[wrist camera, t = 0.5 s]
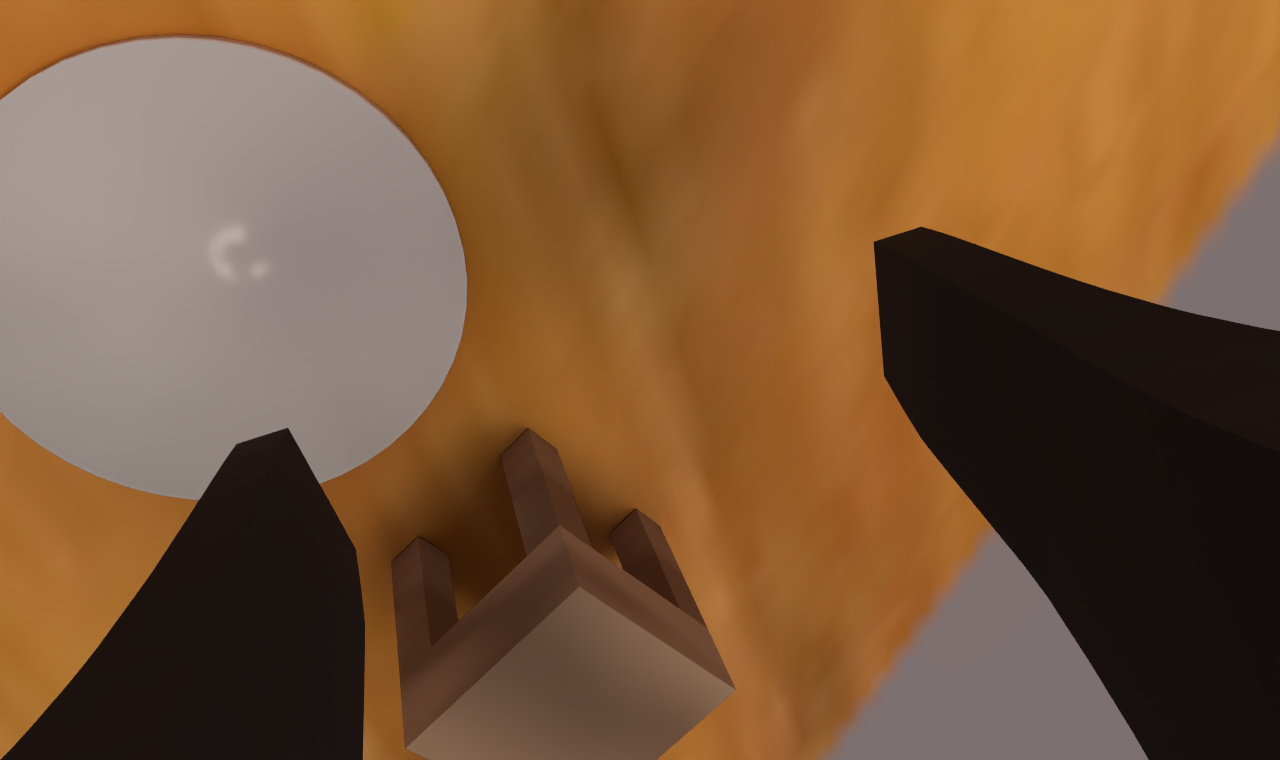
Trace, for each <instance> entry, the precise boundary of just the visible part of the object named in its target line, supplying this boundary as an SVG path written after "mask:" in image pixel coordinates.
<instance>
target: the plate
mask: <svg viewBox="0 0 1280 760" xmlns="http://www.w3.org/2000/svg"><path fill="white" fill-rule="evenodd" d="M466 309H467V274H466V266H465V258H464V251H463V247H462V243H461V239H460V236H459V232H458V228H457V224H456V221H455V218H454V214H453V212H452V210H451V207H450V205H449V202H448V200H447V198H446V195H445V193H444V190H443V188H442V186H441V184H440V182H439V181H438V179H437V177H436V176H435V174H434V172H433V170H432V169H431V167H430V165H429V164H428V162H427V160H426V159H425V157H424V156H423V155H422V154H421V152H420V151H419V150H418V148H417V147H416V146H415V145H414V143H413V142H412V141H411V139H410V138H409V137H408V135H407V134H406V133H405V132H404V131H403V130H402V129H401V128H400V127H399V126H398V125H397V124H396V123H395V122H394V121H393V120H392V119H391V118H390V117H389V116H388V115H387V114H386V113H385V112H384V111H383V110H382V109H381V108H379V107H378V106H377V105H375V104H374V103H373V102H372V101H370V100H369V99H368V98H367V97H365V96H364V95H363V94H361V93H360V92H359V91H358V90H356V89H355V88H353V87H352V86H350V85H348V84H347V83H345V82H343V81H342V80H340V79H338V78H337V77H335V76H333V75H332V74H330V73H328V72H327V71H325V70H323V69H321V68H319V67H317V66H315V65H312V64H310V63H308V62H306V61H303V60H301V59H299V58H297V57H294V56H292V55H290V54H287V53H284V52H280V51H277V50H274V49H271V48H268V47H264V46H261V45H258V44H255V43H250V42H244V41H239V40H234V39H228V38H223V37H217V36H202V35H185V34H172V35H157V36H143V37H136V38H131V39H126V40H121V41H116V42H111V43H106V44H102V45H99V46H96V47H93V48H91V49H88V50H85V51H82V52H79V53H76V54H74V55H71V56H68V57H66V58H64V59H62V60H60V61H58V62H56V63H55V64H53V65H51V66H49V67H47V68H45V69H43V70H41V71H39V72H37V73H36V74H34V75H33V76H31V77H30V78H29V79H27V80H26V81H25V82H23V83H22V84H21V85H19V86H18V87H17V88H15V89H14V90H13V91H11V92H10V93H8V94H7V95H6V96H5V97H3V98H2V99H1V100H0V412H1V413H2V414H3V415H4V416H5V417H6V418H7V419H8V420H9V421H10V422H11V423H12V424H13V425H14V426H16V427H17V428H18V429H19V430H21V431H22V432H23V433H24V434H26V435H27V436H28V437H30V438H31V439H32V440H33V441H35V442H36V443H37V444H39V445H40V446H42V447H43V448H45V449H47V450H48V451H50V452H52V453H53V454H55V455H56V456H58V457H60V458H61V459H63V460H64V461H66V462H68V463H70V464H72V465H74V466H76V467H78V468H81V469H83V470H85V471H87V472H89V473H91V474H93V475H95V476H97V477H100V478H103V479H106V480H109V481H111V482H114V483H117V484H120V485H123V486H125V487H128V488H132V489H136V490H141V491H145V492H149V493H153V494H157V495H162V496H169V497H176V498H183V499H190V500H200V498H201V497H202V495H203V493H204V492H205V490H206V489H207V487H208V486H209V484H210V482H211V481H212V479H213V478H214V476H215V475H216V473H217V472H218V470H219V468H220V467H221V465H222V464H223V462H224V461H225V459H226V458H227V456H228V455H229V454H230V452H231V451H232V450H233V448H234V447H235V445H236V444H238V443H241V442H244V441H247V440H250V439H254V438H257V437H260V436H263V435H266V434H269V433H273V432H276V431H279V430H282V429H285V428H289V430H290V432H291V434H292V435H293V437H294V439H295V441H296V443H297V444H298V446H299V448H300V450H301V452H302V453H303V455H304V457H305V459H306V461H307V462H308V464H309V466H310V468H311V470H312V471H313V473H314V475H315V477H316V479H317V480H318V482H319V484H320V483H323V482H326V481H328V480H331V479H333V478H336V477H338V476H341V475H343V474H344V473H346V472H348V471H350V470H352V469H354V468H356V467H358V466H360V465H361V464H363V463H365V462H367V461H368V460H370V459H371V458H373V457H374V456H375V455H377V454H378V453H380V452H381V451H383V450H384V449H386V448H387V447H388V446H390V445H391V444H392V443H393V442H394V441H395V440H396V439H398V438H399V437H400V436H401V435H402V434H403V433H404V432H405V431H407V430H408V429H409V428H410V427H411V426H412V424H413V423H414V422H415V421H416V420H417V419H418V418H419V416H420V415H421V414H422V413H423V412H424V411H425V410H426V408H427V407H428V406H429V404H430V403H431V401H432V400H433V398H434V397H435V395H436V394H437V392H438V391H439V389H440V388H441V386H442V384H443V382H444V380H445V378H446V376H447V374H448V372H449V370H450V368H451V366H452V364H453V362H454V359H455V356H456V352H457V349H458V346H459V343H460V340H461V337H462V332H463V326H464V320H465V315H466Z"/></svg>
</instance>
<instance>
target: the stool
mask: <svg viewBox="0 0 1280 760" xmlns="http://www.w3.org/2000/svg"><path fill="white" fill-rule="evenodd" d="M500 457H501V461H502V465H503V468H504V472H505V476H506V480H507V484H508V488H509V491H510V495H511V499H512V503H513V507H514V510H515V514H516V518H517V522H518V526H519V530H520V533H521V537H522V541H523V545H524V549H525V552H526V556H527V557H526V558H525V559H524V560H523V561H522V562H520V563H519V564H518V565H517V566H516V567H515V568H514V569H513V570H512V571H511V572H510V573H509V574H508V575H507V576H506V577H505V578H504V579H503V580H501V581H500V582H499V583H498V584H497V585H496V586H495V587H494V588H493V589H492V590H491V591H490V592H489V593H488V594H487V595H486V596H485V597H484V598H483V599H481V600H480V601H479V602H478V603H477V604H476V605H475V606H474V607H473V608H472V609H471V610H470V611H469V612H468V613H467V614H466V615H465V616H464V617H462V618H461V619H460V620H459V621H458V617H457V610H456V604H455V597H454V591H453V584H452V578H451V571H450V565H449V558H448V555H447V554H445V553H444V552H442V551H440V550H439V549H437V548H436V547H434V546H432V545H431V544H429V543H428V542H426V541H424V540H423V539H421V538H420V537H417V538H416V539H415V540H414V541H413V542H412V543H411V544H410V545H409V546H408V547H407V548H406V549H405V550H404V551H403V552H402V553H401V554H400V555H399V556H398V557H397V558H395V559H394V560H393V561H392V562H391V566H392V579H393V593H394V606H395V619H396V633H397V646H398V659H399V672H400V686H401V699H402V712H403V726H404V739H405V749H407V750H409V751H411V752H413V753H416V754H418V755H420V756H422V757H424V758H426V759H428V760H657V759H658V758H659V757H660V756H661V755H662V754H664V753H665V752H666V751H667V750H668V749H669V748H670V747H672V746H673V745H674V744H675V743H676V742H677V741H678V740H680V739H681V738H682V737H683V736H684V735H685V734H686V733H688V732H689V731H690V730H691V729H692V728H693V727H694V726H696V725H697V724H698V723H699V722H700V721H701V720H702V719H704V718H705V717H706V716H707V715H708V714H709V713H710V712H712V711H713V710H714V709H715V708H716V707H717V706H718V705H720V704H721V703H722V702H723V701H724V700H725V699H726V698H728V697H729V696H730V695H731V694H732V693H733V692H734V691H736V689H735V687H734V685H733V682H732V680H731V678H730V676H729V674H728V672H727V669H726V667H725V665H724V663H723V661H722V659H721V657H720V654H719V652H718V650H717V648H716V646H715V644H714V642H713V639H712V637H711V635H710V633H709V631H708V629H707V626H706V624H705V622H704V620H703V618H702V616H701V614H700V611H699V609H698V607H697V605H696V603H695V601H694V598H693V596H692V594H691V592H690V590H689V588H688V586H687V583H686V581H685V579H684V577H683V575H682V573H681V570H680V568H679V566H678V564H677V562H676V560H675V558H674V555H673V553H672V551H671V549H670V547H669V545H668V543H667V540H666V538H665V536H664V534H663V532H662V530H661V527H659V526H658V525H657V524H655V523H654V522H653V521H651V520H650V519H649V518H647V517H646V516H645V515H643V514H642V513H641V512H639V511H638V510H637V509H636V510H634V511H633V512H632V513H631V514H630V515H629V516H628V517H627V518H626V519H625V520H624V521H623V522H622V523H621V524H620V525H618V526H617V527H616V528H615V529H614V530H613V531H612V532H611V533H610V537H611V539H612V542H613V545H614V547H615V550H616V552H617V555H618V557H619V560H620V563H621V565H622V568H623V569H622V568H620V567H619V566H617V565H616V564H614V563H613V562H611V561H610V560H609V559H607V558H606V557H604V556H603V555H601V554H600V553H598V552H597V551H596V550H594V549H593V548H592V547H591V544H590V541H589V538H588V536H587V533H586V530H585V527H584V524H583V522H582V519H581V516H580V513H579V510H578V508H577V505H576V502H575V499H574V496H573V493H572V491H571V488H570V485H569V482H568V479H567V477H566V474H565V471H564V468H563V465H562V463H561V460H560V457H559V454H558V451H557V449H555V448H554V447H553V446H551V445H550V444H549V443H547V442H546V441H545V440H543V439H542V438H541V437H539V436H538V435H536V434H535V433H534V432H532V431H531V430H530V429H527V430H526V431H525V432H524V433H523V434H522V435H521V436H520V437H519V438H518V439H517V440H516V441H515V442H514V443H513V444H512V445H511V446H510V447H509V448H508V449H507V450H506V451H505V452H504V453H503V454H502V455H501V456H500Z"/></svg>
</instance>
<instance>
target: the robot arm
mask: <svg viewBox="0 0 1280 760" xmlns="http://www.w3.org/2000/svg"><path fill="white" fill-rule="evenodd" d="M874 252H875V265H876V278H877V291H878V303H879V316H880V329H881V342H882V355H883V367H884V377H885V378H886V380H887V382H888V383H889V385H890V387H891V389H892V390H893V392H894V394H895V396H896V397H897V399H898V401H899V403H900V404H901V406H902V408H903V410H904V411H905V413H906V414H907V416H908V418H909V419H910V421H911V423H912V424H913V426H914V427H915V429H916V431H917V432H918V434H919V436H920V437H921V439H922V440H923V441H924V442H925V444H926V445H927V446H928V448H929V449H930V450H931V451H932V453H933V454H934V455H935V456H936V458H937V459H938V460H939V461H940V463H941V464H942V465H943V466H944V468H945V469H946V470H947V471H948V473H949V474H950V475H951V476H952V478H953V479H954V480H955V481H956V483H957V484H958V485H959V486H960V488H961V489H962V490H963V491H964V492H965V494H966V495H967V496H968V497H969V499H970V500H971V501H972V502H973V503H974V505H975V506H976V507H977V508H978V510H979V511H980V512H981V513H982V514H983V516H984V517H985V518H986V519H987V521H988V522H989V523H990V524H991V526H992V527H993V528H994V529H995V530H996V532H997V533H998V534H999V535H1000V536H1001V538H1002V539H1003V540H1004V541H1005V543H1006V544H1007V545H1008V546H1009V548H1010V549H1011V550H1012V551H1013V552H1014V553H1015V555H1016V556H1017V557H1018V559H1019V560H1020V561H1021V562H1022V563H1023V565H1024V566H1025V567H1026V569H1027V570H1028V571H1029V573H1030V574H1031V575H1032V577H1033V578H1034V579H1035V581H1036V582H1037V583H1038V585H1039V586H1040V587H1041V589H1042V590H1043V591H1044V593H1045V594H1046V595H1047V597H1048V598H1049V600H1050V601H1051V603H1052V604H1053V606H1054V608H1055V609H1056V611H1057V612H1058V614H1059V615H1060V617H1061V618H1062V620H1063V621H1064V623H1065V625H1066V626H1067V628H1068V629H1069V631H1070V632H1071V634H1072V635H1073V637H1074V638H1075V640H1076V642H1077V643H1078V644H1079V646H1080V648H1081V649H1082V651H1083V652H1084V654H1085V655H1086V657H1087V659H1088V660H1089V662H1090V663H1091V665H1092V666H1093V668H1094V670H1095V671H1096V673H1097V675H1098V676H1099V678H1100V679H1101V681H1102V683H1103V684H1104V686H1105V688H1106V689H1107V691H1108V693H1109V694H1110V696H1111V697H1112V699H1113V700H1114V702H1115V704H1116V705H1117V707H1118V709H1119V710H1120V712H1121V714H1122V715H1123V717H1124V719H1125V720H1126V722H1127V723H1128V725H1129V727H1130V728H1131V730H1132V731H1133V733H1134V735H1135V737H1136V738H1137V740H1138V742H1139V744H1140V745H1141V747H1142V749H1143V750H1144V752H1145V754H1146V756H1147V757H1148V759H1149V760H1280V331H1276V330H1270V329H1264V328H1259V327H1254V326H1249V325H1244V324H1240V323H1235V322H1230V321H1226V320H1221V319H1216V318H1212V317H1207V316H1202V315H1197V314H1193V313H1189V312H1185V311H1181V310H1177V309H1173V308H1169V307H1165V306H1161V305H1158V304H1154V303H1151V302H1147V301H1144V300H1140V299H1137V298H1133V297H1130V296H1126V295H1123V294H1119V293H1116V292H1112V291H1109V290H1106V289H1103V288H1099V287H1096V286H1093V285H1090V284H1087V283H1084V282H1081V281H1078V280H1075V279H1072V278H1069V277H1066V276H1063V275H1060V274H1057V273H1054V272H1051V271H1048V270H1045V269H1042V268H1039V267H1037V266H1034V265H1031V264H1028V263H1025V262H1023V261H1020V260H1017V259H1014V258H1011V257H1009V256H1006V255H1003V254H1000V253H998V252H995V251H992V250H989V249H987V248H984V247H981V246H978V245H976V244H973V243H970V242H967V241H964V240H962V239H959V238H956V237H953V236H950V235H947V234H944V233H941V232H938V231H934V230H931V229H927V228H924V227H919V228H916V229H913V230H910V231H906V232H903V233H900V234H897V235H894V236H891V237H888V238H884V239H881V240H878V241H875V242H874ZM364 668H365V620H364V611H363V602H362V593H361V585H360V577H359V570H358V563H357V555H356V549H355V547H354V545H353V543H352V542H351V540H350V538H349V536H348V534H347V533H346V531H345V529H344V527H343V525H342V524H341V522H340V520H339V518H338V516H337V515H336V513H335V511H334V509H333V507H332V506H331V504H330V502H329V500H328V498H327V497H326V495H325V493H324V491H323V489H322V488H321V486H320V484H319V482H318V480H317V479H316V477H315V475H314V473H313V471H312V470H311V468H310V466H309V464H308V462H307V461H306V459H305V457H304V455H303V453H302V452H301V450H300V448H299V446H298V444H297V443H296V441H295V439H294V437H293V435H292V434H291V432H290V430H289V428H285V429H282V430H279V431H276V432H273V433H269V434H266V435H263V436H260V437H257V438H254V439H250V440H247V441H244V442H241V443H238V444H236V445H235V447H234V448H233V450H232V451H231V452H230V454H229V455H228V456H227V458H226V459H225V461H224V462H223V464H222V465H221V467H220V468H219V470H218V472H217V473H216V475H215V476H214V478H213V479H212V481H211V482H210V484H209V486H208V487H207V489H206V490H205V492H204V493H203V495H202V497H201V498H200V500H199V501H198V503H197V504H196V506H195V508H194V509H193V511H192V512H191V514H190V515H189V517H188V519H187V520H186V522H185V523H184V525H183V526H182V528H181V529H180V531H179V532H178V534H177V535H176V537H175V538H174V540H173V541H172V543H171V544H170V546H169V548H168V549H167V551H166V552H165V554H164V555H163V557H162V558H161V560H160V561H159V563H158V564H157V566H156V567H155V569H154V570H153V572H152V573H151V575H150V576H149V578H148V579H147V580H146V582H145V583H144V584H143V586H142V587H141V589H140V590H139V591H138V593H137V594H136V595H135V597H134V598H133V600H132V601H131V602H130V604H129V605H128V606H127V608H126V609H125V611H124V612H123V613H122V615H121V616H120V617H119V619H118V620H117V622H116V623H115V624H114V626H113V627H112V628H111V630H110V631H109V633H108V634H107V635H106V637H105V638H104V639H103V641H102V642H101V644H100V645H99V646H98V648H97V649H96V650H95V651H94V653H93V654H92V655H91V657H90V658H89V659H88V660H87V662H86V663H85V664H84V665H83V667H82V668H81V669H80V670H79V672H78V673H77V674H76V675H75V676H74V678H73V679H72V680H71V681H70V683H69V684H68V685H67V686H66V687H65V689H64V690H63V691H62V692H61V693H60V694H59V696H58V697H57V698H56V699H55V700H54V701H53V702H52V704H51V705H50V706H49V707H48V708H47V709H46V711H45V712H44V713H43V714H42V715H41V716H40V717H39V719H38V720H37V721H36V722H35V723H34V724H33V726H32V727H31V728H30V729H29V730H28V731H27V732H26V733H25V734H24V736H23V737H22V738H21V739H20V740H19V741H18V742H17V743H16V744H15V745H14V747H13V748H12V749H11V750H10V751H9V752H8V753H7V754H6V755H5V756H4V757H3V758H2V759H1V760H363V718H364Z"/></svg>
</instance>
